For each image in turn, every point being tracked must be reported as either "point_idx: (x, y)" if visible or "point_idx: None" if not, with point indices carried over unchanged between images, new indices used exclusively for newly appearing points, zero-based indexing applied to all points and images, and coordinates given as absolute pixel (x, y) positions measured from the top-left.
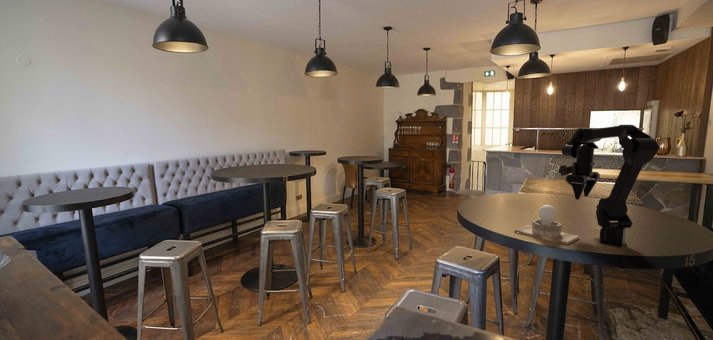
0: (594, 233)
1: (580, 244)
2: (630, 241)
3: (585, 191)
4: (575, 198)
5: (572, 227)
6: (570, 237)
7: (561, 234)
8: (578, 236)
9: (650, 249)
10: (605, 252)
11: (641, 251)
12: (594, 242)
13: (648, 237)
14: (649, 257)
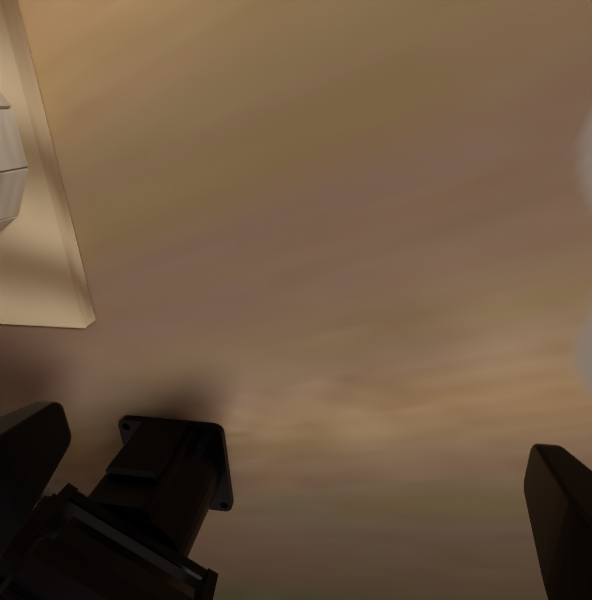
0: (306, 354)
1: (7, 355)
2: (300, 514)
3: (582, 570)
4: (26, 407)
5: (351, 183)
6: (6, 301)
7: (5, 238)
8: (74, 327)
9: (236, 573)
10: None
11: None
12: (109, 396)
13: (477, 571)
14: None
